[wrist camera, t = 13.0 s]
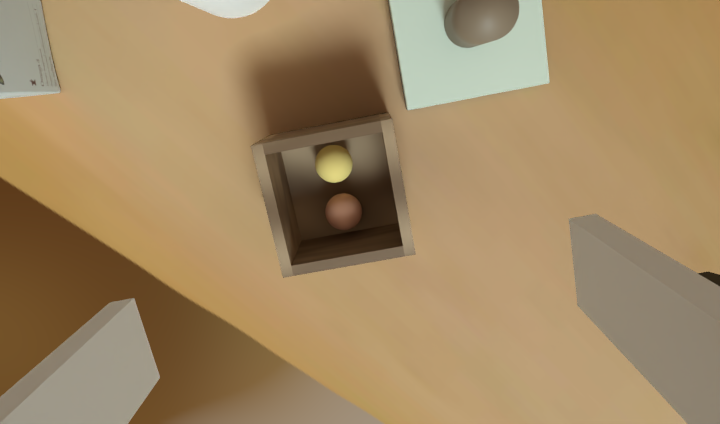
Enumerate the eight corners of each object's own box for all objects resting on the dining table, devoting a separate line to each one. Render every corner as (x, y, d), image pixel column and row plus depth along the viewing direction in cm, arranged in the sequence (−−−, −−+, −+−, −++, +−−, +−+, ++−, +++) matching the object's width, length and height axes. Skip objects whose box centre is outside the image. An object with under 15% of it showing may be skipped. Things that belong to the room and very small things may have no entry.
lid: (382, -38, 39) (386, -68, 31) (529, -69, 38) (572, -108, 30) (406, 109, 41) (416, 116, 33) (544, 82, 41) (587, 83, 33)
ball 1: (313, 146, 42) (309, 151, 39) (349, 139, 42) (347, 144, 39) (321, 181, 43) (317, 189, 40) (356, 175, 43) (355, 182, 40)
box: (269, 135, 43) (251, 145, 36) (388, 112, 42) (392, 118, 35) (295, 248, 45) (283, 277, 38) (408, 227, 45) (415, 254, 38)
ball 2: (323, 193, 43) (320, 201, 40) (358, 186, 43) (358, 194, 40) (330, 227, 44) (328, 237, 41) (365, 220, 44) (365, 231, 41)
